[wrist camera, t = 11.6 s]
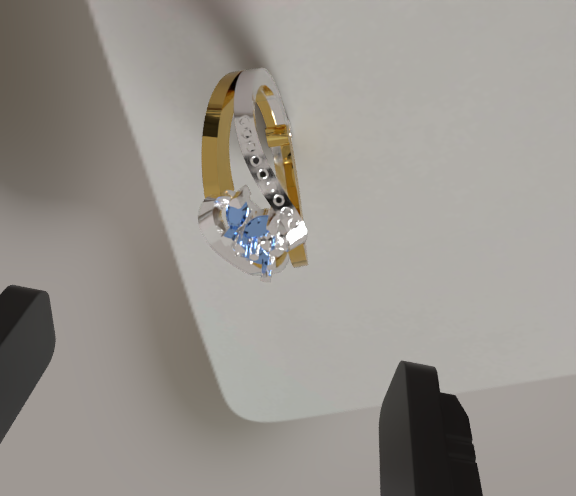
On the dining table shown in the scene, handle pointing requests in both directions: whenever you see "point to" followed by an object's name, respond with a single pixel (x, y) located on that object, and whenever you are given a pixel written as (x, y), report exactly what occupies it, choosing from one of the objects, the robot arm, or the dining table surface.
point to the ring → (278, 191)
